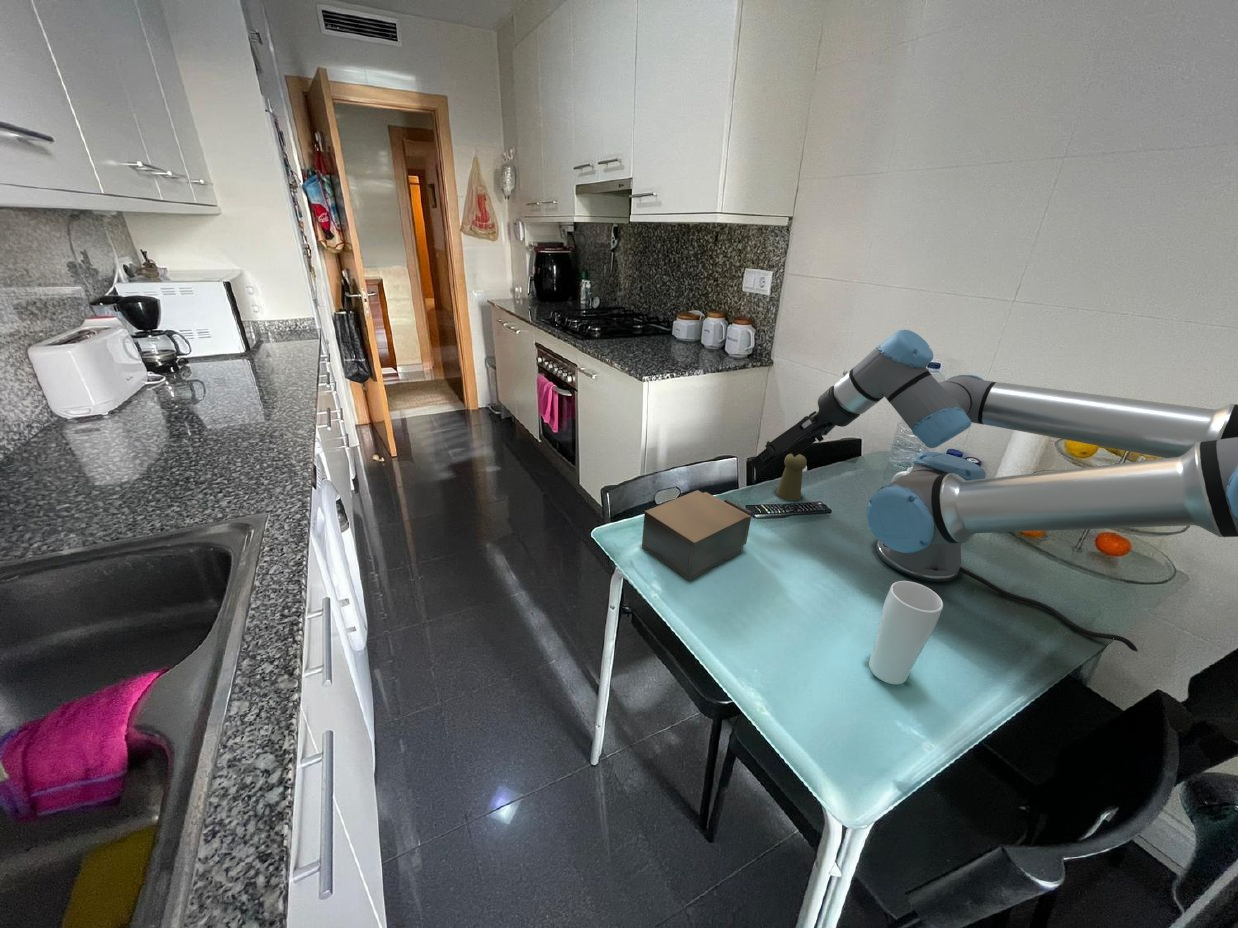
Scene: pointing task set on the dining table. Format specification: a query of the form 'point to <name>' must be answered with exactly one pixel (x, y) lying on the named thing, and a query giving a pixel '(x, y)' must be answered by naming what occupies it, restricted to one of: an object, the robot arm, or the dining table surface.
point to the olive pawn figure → (792, 478)
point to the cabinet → (693, 533)
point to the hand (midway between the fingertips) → (773, 459)
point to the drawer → (738, 509)
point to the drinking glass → (903, 630)
